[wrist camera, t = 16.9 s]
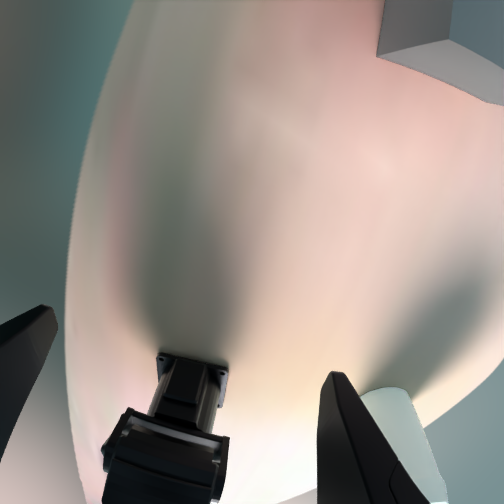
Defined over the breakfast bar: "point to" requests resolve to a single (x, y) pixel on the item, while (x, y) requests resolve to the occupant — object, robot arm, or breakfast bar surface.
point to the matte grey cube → (448, 42)
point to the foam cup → (407, 439)
